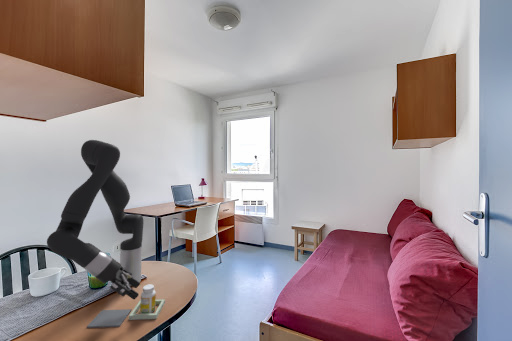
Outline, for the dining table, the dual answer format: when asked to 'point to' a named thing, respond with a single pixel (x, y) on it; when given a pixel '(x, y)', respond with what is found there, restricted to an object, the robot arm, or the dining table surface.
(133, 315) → the pale green square frame
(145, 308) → the supplement bottle
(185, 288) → the dining table surface
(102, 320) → the mat
